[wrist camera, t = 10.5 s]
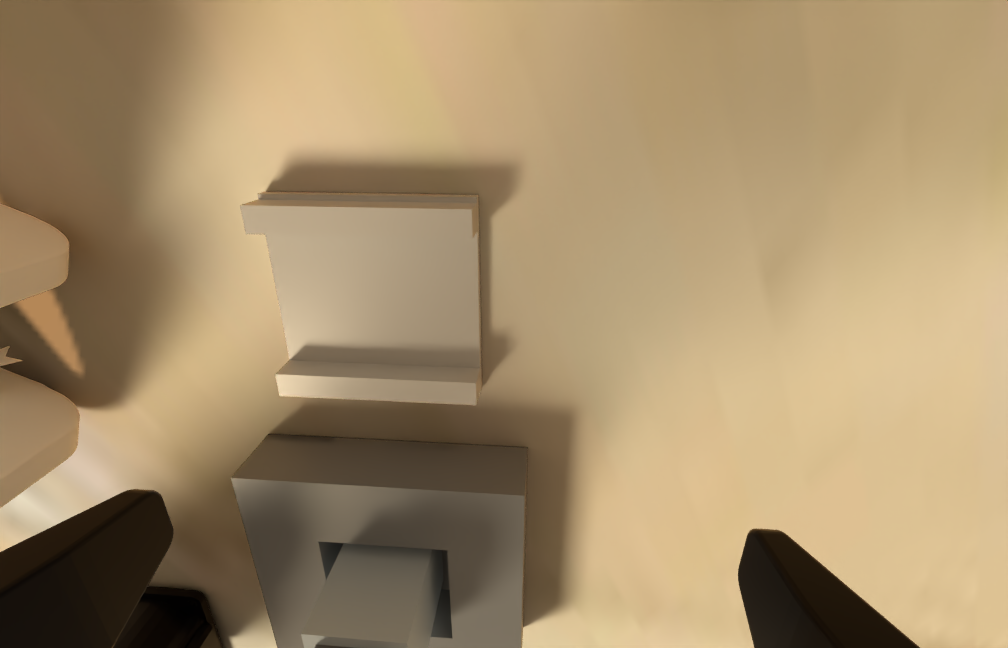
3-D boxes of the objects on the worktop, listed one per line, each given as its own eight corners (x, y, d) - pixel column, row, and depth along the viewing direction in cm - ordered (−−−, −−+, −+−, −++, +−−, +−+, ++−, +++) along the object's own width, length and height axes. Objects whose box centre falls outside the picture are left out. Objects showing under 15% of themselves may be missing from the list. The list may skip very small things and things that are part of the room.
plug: (366, 572, 25) (293, 759, 18) (357, 513, 24) (273, 692, 17) (443, 578, 25) (400, 771, 18) (440, 518, 24) (391, 703, 16)
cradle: (299, 379, 22) (280, 400, 20) (264, 191, 18) (238, 199, 17) (481, 387, 21) (476, 409, 20) (478, 194, 18) (471, 203, 16)
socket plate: (309, 613, 28) (283, 668, 25) (268, 433, 23) (230, 478, 20) (522, 630, 27) (519, 689, 24) (527, 447, 22) (524, 495, 19)
